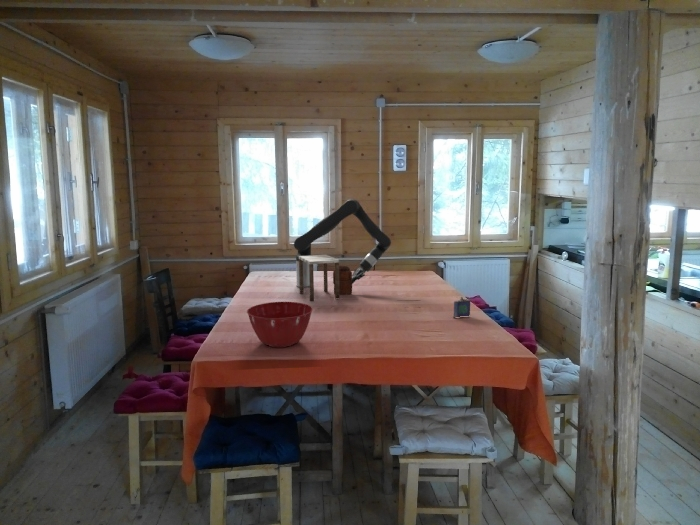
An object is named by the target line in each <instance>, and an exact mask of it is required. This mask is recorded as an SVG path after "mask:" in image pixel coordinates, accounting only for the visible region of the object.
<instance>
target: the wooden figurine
mask: <svg viewBox="0 0 700 525" xmlns="http://www.w3.org/2000/svg"><path fill="white" fill-rule="evenodd" d="M352 275H353V272H352V270H351V269H350V267H349V266H348V265H345V264H342V265H339V295H352V293H353V284H352V281H351V280H352V278H353V276H352ZM332 280H333V281H332V283H333V294H334V295H335V269H333V273H332Z"/></svg>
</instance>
